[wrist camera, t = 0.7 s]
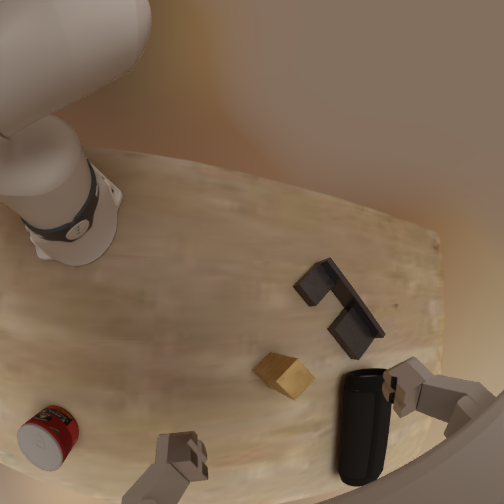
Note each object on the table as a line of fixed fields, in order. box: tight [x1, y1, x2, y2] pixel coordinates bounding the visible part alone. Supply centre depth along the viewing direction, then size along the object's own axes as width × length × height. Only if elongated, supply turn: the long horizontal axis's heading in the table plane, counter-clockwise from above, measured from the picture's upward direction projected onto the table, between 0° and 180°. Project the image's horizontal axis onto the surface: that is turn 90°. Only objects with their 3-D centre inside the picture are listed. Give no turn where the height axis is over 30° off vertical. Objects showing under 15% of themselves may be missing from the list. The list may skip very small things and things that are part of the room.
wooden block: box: [253, 352, 315, 400], centre depth 40 cm, size 4×4×10 cm
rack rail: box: [293, 258, 385, 360], centre depth 49 cm, size 7×20×5 cm, turn 43°
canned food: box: [17, 406, 78, 471], centre depth 25 cm, size 8×8×11 cm
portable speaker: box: [338, 368, 392, 486], centre depth 42 cm, size 26×10×10 cm, turn 2°
